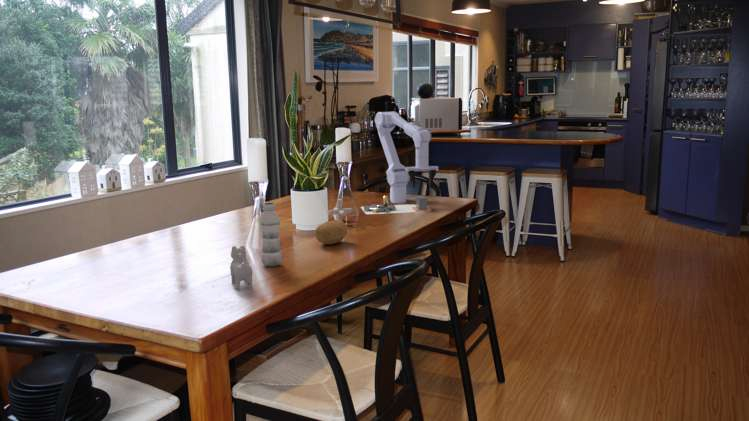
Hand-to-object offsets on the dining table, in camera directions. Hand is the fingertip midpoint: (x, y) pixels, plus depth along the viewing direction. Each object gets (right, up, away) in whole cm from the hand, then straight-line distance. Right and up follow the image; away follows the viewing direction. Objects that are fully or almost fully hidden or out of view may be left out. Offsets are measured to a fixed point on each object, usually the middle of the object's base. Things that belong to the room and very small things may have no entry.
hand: (422, 187), depth 279 cm
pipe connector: (-36, -16, -26) cm, 47 cm away
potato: (-37, -23, -58) cm, 72 cm away
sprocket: (-19, -10, -4) cm, 22 cm away
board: (-12, -11, -3) cm, 17 cm away
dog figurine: (-60, -32, -101) cm, 122 cm away
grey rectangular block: (-1, -10, -6) cm, 11 cm away
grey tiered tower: (-54, -28, -83) cm, 103 cm away
